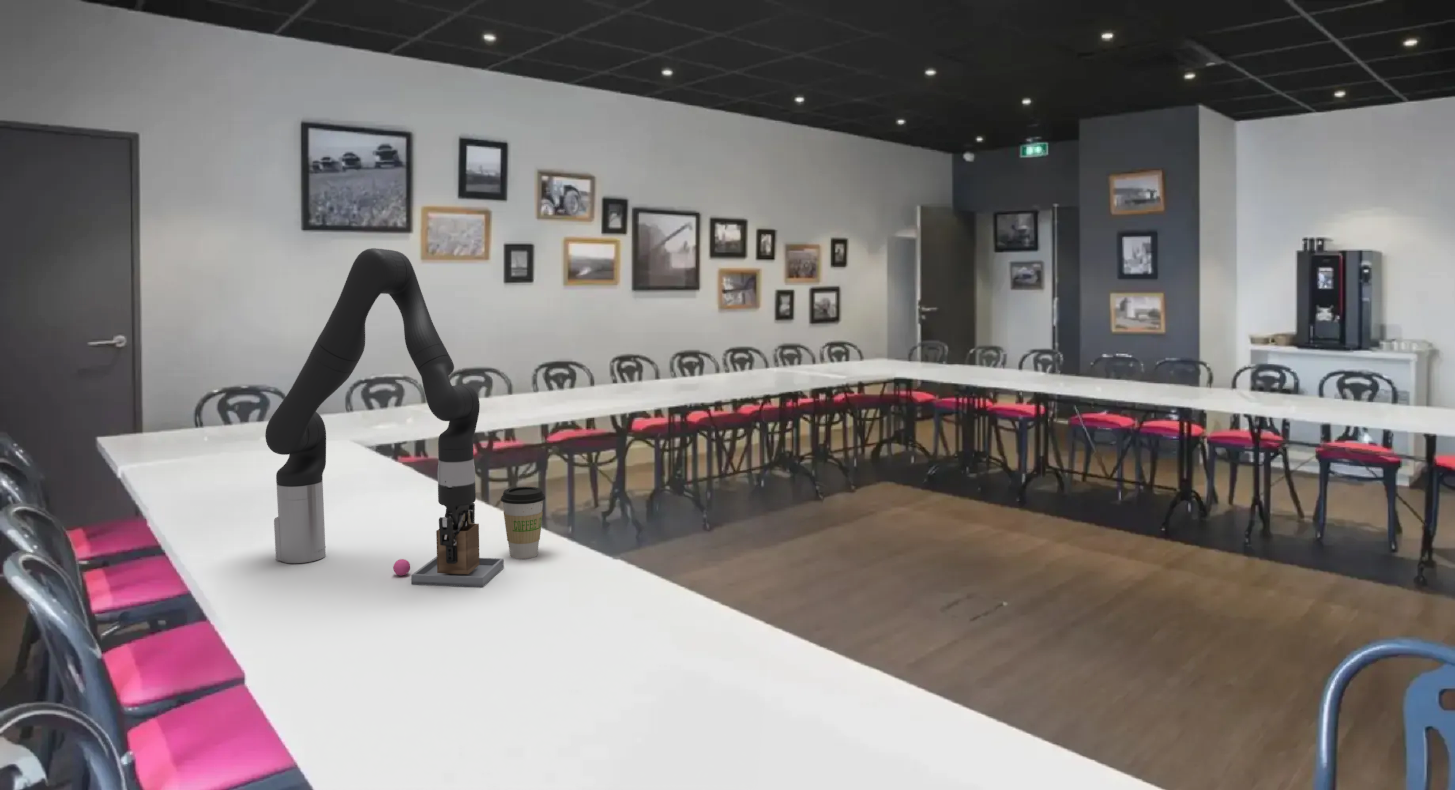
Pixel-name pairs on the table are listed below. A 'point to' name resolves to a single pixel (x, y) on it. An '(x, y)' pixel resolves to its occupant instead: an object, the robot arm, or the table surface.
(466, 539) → the pen cup
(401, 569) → the ball
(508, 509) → the coffee cup
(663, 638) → the table surface
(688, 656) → the table surface
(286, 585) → the table surface
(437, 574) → the tray
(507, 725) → the table surface
